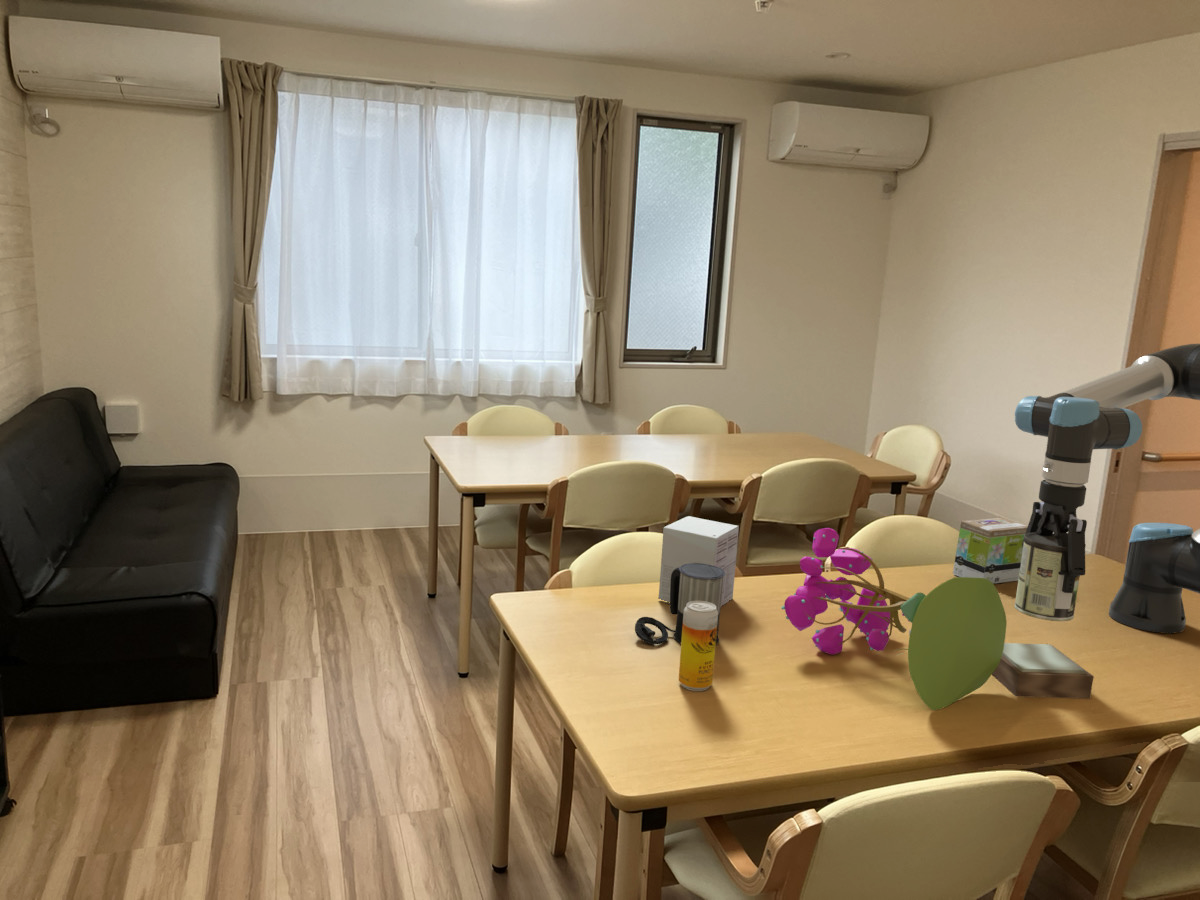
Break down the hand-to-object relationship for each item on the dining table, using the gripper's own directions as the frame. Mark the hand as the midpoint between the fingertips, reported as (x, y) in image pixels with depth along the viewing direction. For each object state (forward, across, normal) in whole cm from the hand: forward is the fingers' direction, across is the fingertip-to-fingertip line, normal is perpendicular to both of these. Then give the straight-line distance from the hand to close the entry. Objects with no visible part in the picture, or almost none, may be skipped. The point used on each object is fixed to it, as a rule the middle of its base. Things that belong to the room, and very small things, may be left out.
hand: (1045, 597), depth 169 cm
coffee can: (+3, 0, 0) cm, 3 cm away
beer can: (+17, +6, -66) cm, 68 cm away
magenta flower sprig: (+17, -7, -28) cm, 33 cm away
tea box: (+17, -62, +21) cm, 68 cm away
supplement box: (+17, -38, -59) cm, 72 cm away
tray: (+17, 0, 0) cm, 17 cm away
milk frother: (+17, -15, -66) cm, 70 cm away
